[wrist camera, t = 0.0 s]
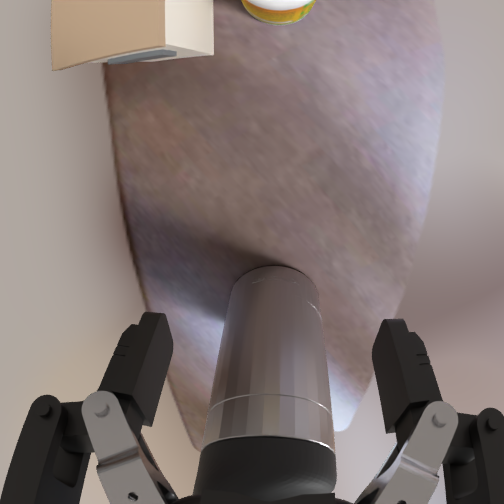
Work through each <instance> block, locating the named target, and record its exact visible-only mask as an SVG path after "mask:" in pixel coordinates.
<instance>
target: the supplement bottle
mask: <svg viewBox="0 0 504 504" xmlns="http://www.w3.org/2000/svg"><path fill="white" fill-rule="evenodd" d="M241 1H242V3H243V5H244V7H245V8H246V10H247V11H248V12H249V14H250V15H252V16H253V17H254V18H256V19H257V20H259V21H261V22H263V23H266V24H270V25H288V24H292V23H295V22H297V21H299V20H301V19H302V18H303V17H305V16H306V15H307V14H308V13H309V11H310V10H311V8H312V6H313V5H314V3H315V1H316V0H241Z"/></svg>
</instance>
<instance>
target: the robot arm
mask: <svg viewBox="0 0 504 504" xmlns="http://www.w3.org/2000/svg"><path fill="white" fill-rule="evenodd" d="M117 345H118V346H117V347H116V349H115V351H114V353H113V354H114V355H113V356H112V358H111V360H110V363H109V365H108V368H107V370H106V372H105V374H104V377H103V379H102V382H101V384H100V387H99V389H98V390H97V392H94V393H92V394H90V395H89V396H88V397H87V398H86V399H85V400H84V401H80V402H66V403H60V401H59V400H58V399H57V398H56V397H54V396H51V395H43V396H40V397H38V398H37V399H36V400H35V401H34V402H33V403H32V405H31V407H30V410H29V412H28V415H27V418H26V420H25V423H24V425H23V428H22V431H21V434H20V436H19V439H18V442H17V445H16V448H15V451H14V454H13V457H12V461H11V463H10V467H9V470H8V474H7V477H6V480H5V484H4V487H3V491H2V495H1V499H0V504H79V502H80V497H81V493H82V488H83V484H84V479H85V475H86V471H87V467H88V463H89V459H90V455H91V452H95V454H96V456H97V459H98V465H97V467H96V469H97V473H98V476H99V479H100V481H101V483H102V486H103V488H104V491H105V493H106V495H107V498H108V499H109V502H110V504H353V503H350V502H348V501H345V500H341V499H337V498H335V493H331V492H332V491H333V490H334V488H335V484H336V477H337V473H336V457H335V442H334V429H333V419H332V408H331V397H330V387H329V377H328V368H327V359H326V350H325V342H324V334H323V326H322V317H321V310H320V303H319V296H318V292H317V289H316V287H315V285H314V284H313V283H312V281H311V280H310V279H309V278H308V277H306V276H305V275H304V274H302V273H300V272H298V271H296V270H294V269H291V268H287V267H281V266H266V267H261V268H257V269H254V270H252V271H250V272H248V273H246V274H245V275H243V276H242V277H240V278H239V280H238V281H237V282H236V283H235V284H234V286H233V288H232V290H231V295H230V299H229V304H228V309H227V314H226V319H225V323H224V329H223V334H222V339H221V344H220V350H219V355H218V360H217V366H216V371H215V376H214V382H213V387H212V392H211V398H210V403H209V409H208V414H207V421H206V426H205V432H204V438H203V443H202V449H201V455H200V461H199V467H198V472H197V477H196V481H195V486H194V491H193V495H191V496H187V497H184V498H181V499H178V497H177V495H176V494H175V492H174V490H173V489H172V487H171V486H170V484H169V483H168V481H167V480H166V479H165V477H164V475H163V474H162V472H161V470H160V469H159V467H158V465H157V463H156V461H155V459H154V457H153V455H152V453H151V451H150V449H149V447H148V446H147V443H146V442H145V439H144V437H143V435H142V434H141V429H142V425H146V426H150V427H152V424H153V421H154V417H155V413H156V410H157V406H158V402H159V399H160V395H161V391H162V388H163V385H164V381H165V378H166V374H167V371H168V367H169V364H170V361H171V357H172V353H173V339H172V336H171V332H170V328H169V325H168V321H167V318H166V315H165V314H164V313H154V312H144V314H143V315H142V317H141V320H140V322H139V325H135V324H131V325H130V326H129V327H128V328H127V329H126V330H125V331H124V332H123V333H122V336H121V338H120V340H119V342H118V344H117ZM372 361H373V366H374V370H375V375H376V380H377V385H378V390H379V395H380V401H381V406H382V412H383V418H384V424H385V430H386V434H387V433H394V432H396V438H397V442H396V443H395V445H394V447H393V449H392V450H391V452H390V454H389V455H388V457H387V459H386V460H385V462H384V463H383V465H382V467H381V468H380V470H379V471H378V473H377V474H376V476H375V477H374V479H373V480H372V482H371V483H370V484H369V485H368V486H367V487H366V488H365V490H364V491H363V492H362V494H361V495H360V496H359V497H358V499H357V500H356V501H355V503H354V504H428V502H429V500H430V498H431V496H432V494H433V492H434V490H435V488H436V486H437V484H438V481H439V476H437V472H438V470H439V467H440V466H441V464H443V471H444V479H445V489H446V501H447V504H504V416H503V414H502V413H501V412H500V411H498V410H497V409H494V408H486V409H484V410H483V411H482V412H481V413H480V414H479V415H478V416H477V415H470V414H463V413H457V412H456V410H455V409H454V408H453V407H452V406H451V405H450V404H448V403H446V402H444V401H443V400H442V397H441V394H440V391H439V387H438V384H437V381H436V378H435V375H434V372H433V369H432V366H431V365H430V360H429V357H428V356H427V351H426V348H425V345H424V343H423V341H422V340H421V339H420V337H419V336H418V335H417V334H416V333H415V332H409V331H408V329H407V326H406V323H405V321H404V320H403V319H384V320H383V321H382V323H381V326H380V329H379V332H378V334H377V337H376V339H375V342H374V345H373V349H372Z"/></svg>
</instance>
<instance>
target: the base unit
mask: <svg viewBox="0 0 504 504" xmlns="http://www.w3.org/2000/svg"><path fill="white" fill-rule="evenodd" d="M51 49H52V50H51V51H52V71H56V70H63V69H66V68H70V67H73V66H76V65H80V64H84V63H97V62H108V64H128V63H133V62H154V61H161V60H169V59H177V58H186V57H197V56H209V55H214V32H213V0H52V4H51Z"/></svg>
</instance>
